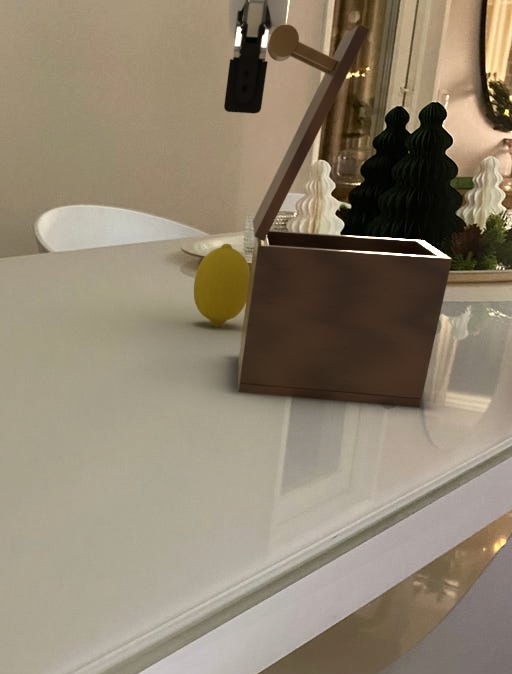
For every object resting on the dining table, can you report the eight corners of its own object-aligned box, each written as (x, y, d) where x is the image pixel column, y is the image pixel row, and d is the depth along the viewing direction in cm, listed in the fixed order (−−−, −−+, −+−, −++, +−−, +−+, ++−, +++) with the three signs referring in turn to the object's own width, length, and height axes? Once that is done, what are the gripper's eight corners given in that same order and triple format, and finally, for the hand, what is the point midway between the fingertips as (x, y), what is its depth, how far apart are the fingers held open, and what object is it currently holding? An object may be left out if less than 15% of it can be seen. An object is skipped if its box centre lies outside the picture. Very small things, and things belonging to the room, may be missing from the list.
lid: (352, 41, 80) (284, 8, 80) (370, 28, 69) (291, -10, 69) (261, 225, 87) (198, 195, 86) (264, 241, 76) (191, 206, 75)
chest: (397, 373, 90) (424, 240, 85) (419, 409, 79) (452, 258, 74) (238, 360, 92) (255, 229, 87) (238, 393, 81) (258, 245, 76)
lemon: (195, 320, 109) (204, 238, 105) (248, 325, 107) (259, 243, 104) (184, 328, 104) (193, 243, 101) (239, 334, 103) (251, 248, 99)
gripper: (324, -135, 80) (287, 115, 88) (310, -95, 95) (279, 115, 103) (226, -138, 81) (197, 109, 89) (227, -98, 96) (203, 110, 104)
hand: (241, 112), depth 96 cm, fingers open, 9 cm apart
